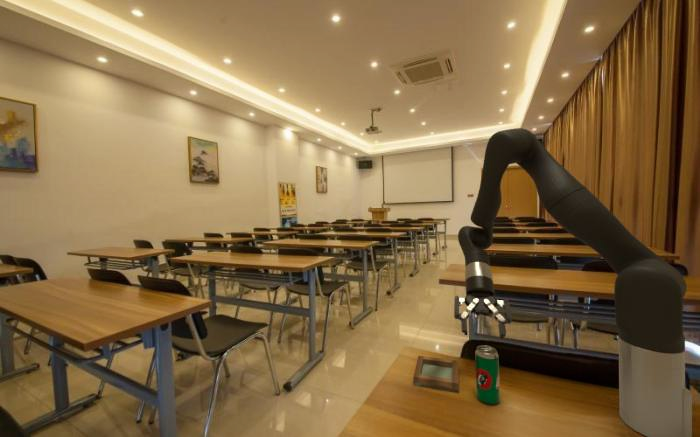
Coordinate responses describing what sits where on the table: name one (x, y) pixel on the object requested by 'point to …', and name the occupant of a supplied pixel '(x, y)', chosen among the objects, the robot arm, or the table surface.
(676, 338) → the robot arm
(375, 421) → the table surface
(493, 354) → the soda can
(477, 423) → the table surface
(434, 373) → the tray
